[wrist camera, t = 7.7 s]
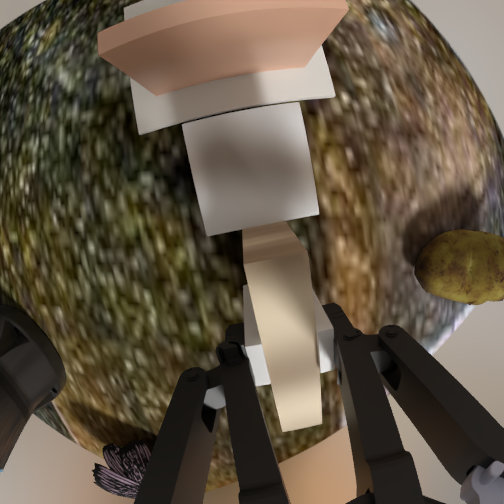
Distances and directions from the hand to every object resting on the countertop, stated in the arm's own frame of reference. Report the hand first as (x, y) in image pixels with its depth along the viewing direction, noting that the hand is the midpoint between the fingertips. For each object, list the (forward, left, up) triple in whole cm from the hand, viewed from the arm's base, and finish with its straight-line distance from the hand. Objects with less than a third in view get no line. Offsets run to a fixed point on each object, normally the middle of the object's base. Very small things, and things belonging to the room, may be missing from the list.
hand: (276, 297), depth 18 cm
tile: (0, +17, -5) cm, 18 cm away
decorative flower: (-25, -28, -6) cm, 38 cm away
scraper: (0, +3, 0) cm, 3 cm away
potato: (+20, -3, -6) cm, 21 cm away
